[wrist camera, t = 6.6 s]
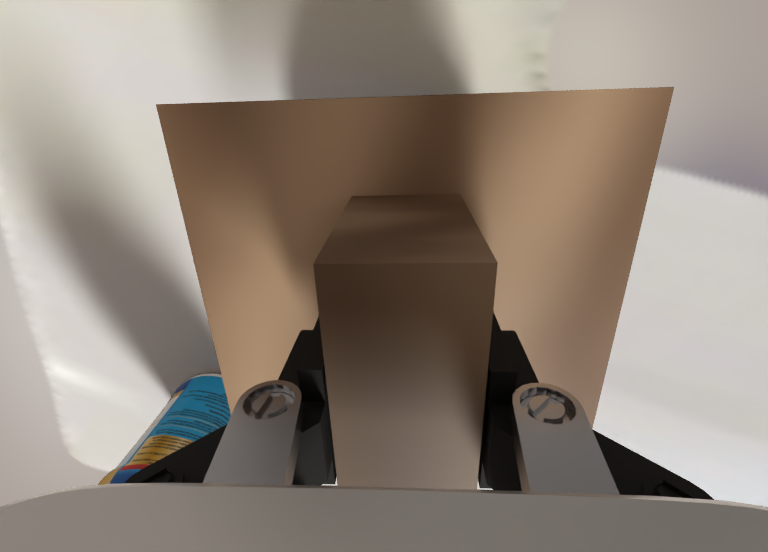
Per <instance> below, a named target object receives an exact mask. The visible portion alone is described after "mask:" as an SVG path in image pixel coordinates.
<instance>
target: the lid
mask: <svg viewBox="0 0 768 552" xmlns="http://www.w3.org/2000/svg"><path fill="white" fill-rule="evenodd" d="M673 89H674V87H660V88H629V89H602V90H570V91H541V92H511V93H482V94H452V95H423V96H393V97H364V98H334V99H305V100H275V101H246V102H216V103H187V104H157V105H156V107H157V111H158V115H159V119H160V123H161V127H162V131H163V135H164V140H165V144H166V148H167V152H168V156H169V160H170V164H171V169H172V173H173V177H174V181H175V185H176V189H177V193H178V197H179V202H180V206H181V210H182V214H183V218H184V222H185V226H186V231H187V235H188V239H189V243H190V247H191V251H192V255H193V259H194V264H195V268H196V272H197V276H198V280H199V284H200V288H201V293H202V297H203V301H204V305H205V309H206V313H207V317H208V322H209V326H210V330H211V334H212V338H213V342H214V346H215V350H216V355H217V359H218V363H219V367H220V371H221V375H222V379H223V384H224V388H225V392H226V396H227V400H228V404H229V408H230V412H231V415H232V412H233V410H234V407H235V405H236V403H237V401H238V400H239V398H240V396H241V395H242V394H243V393H245V392H246V391H247V390H248V389H250V388H251V387H253V386H255V385H257V384H260V383H263V382H266V381H272V380H278V378H279V376H280V374H281V372H282V370H283V367H284V365H285V363H286V361H287V359H288V357H289V354H290V352H291V350H292V348H293V346H294V343H295V341H296V339H297V337H298V335H299V333H300V331H301V330H313V329H314V326H315V324H316V321H317V319H318V316H319V321H320V330H321V339H322V348H323V357H324V366H325V375H326V384H327V393H328V402H329V411H330V420H331V429H332V438H333V447H334V456H335V465H336V474H337V483H338V486H362V487H400V488H436V489H471V490H477V482H478V471H479V460H480V450H481V439H482V428H483V417H484V406H485V395H486V384H487V373H488V363H489V352H490V341H491V330H492V319H493V311H494V314H495V316H496V319H497V321H498V324H499V326H500V329H501V330H513V331H515V332H516V333H517V335H518V338H519V340H520V342H521V344H522V346H523V348H524V351H525V353H526V355H527V357H528V359H529V362H530V364H531V366H532V368H533V370H534V372H535V375H536V377H537V379H538V381H539V383H545V384H551V385H554V386H557V387H560V388H562V389H564V390H566V391H567V392H569V393H571V394H572V395H573V396H574V397H575V398H576V399H578V401H579V402H580V404H581V405H582V407H583V409H584V411H585V413H586V416H587V418H588V420H589V423H590V425H591V428H592V427H593V423H594V419H595V415H596V411H597V407H598V402H599V398H600V394H601V390H602V386H603V382H604V377H605V373H606V369H607V365H608V361H609V357H610V352H611V348H612V344H613V340H614V336H615V332H616V327H617V323H618V319H619V315H620V311H621V306H622V302H623V298H624V294H625V290H626V286H627V281H628V277H629V273H630V269H631V265H632V261H633V256H634V252H635V248H636V244H637V240H638V236H639V231H640V227H641V223H642V219H643V215H644V211H645V206H646V202H647V198H648V194H649V190H650V186H651V181H652V177H653V173H654V169H655V165H656V160H657V156H658V152H659V148H660V144H661V140H662V135H663V131H664V127H665V123H666V119H667V114H668V110H669V106H670V102H671V98H672V94H673Z"/></svg>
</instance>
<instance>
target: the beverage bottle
mask: <svg viewBox="0 0 768 552" xmlns="http://www.w3.org/2000/svg"><path fill="white" fill-rule="evenodd" d="M230 417H231V412H230V408H229V404H228V400H227V396H226V392H225V388H224V384H223V379H222V375H221V374H213V373H209V374H201V375H197V376H194V377H191V378H189V379H188V380H186V381H185V382H183V383H182V384H181V385H180V386H179V387H178V389H177V390H176V391H175V392H174V394H173V395H172V397H171V399H170V400H169V402H168V403H167V405H166V406H165V407H164V409H163V410H162V411H161V413H160V414H159V415H158V416H157V418H156V419H155V420H154V421H153V423H152V424H151V425H150V426H149V428H148V429H147V430H146V431H145V433H144V434H143V435H142V436H141V438H140V439H139V440H138V441H137V443H136V444H135V445H134V446H133V448H132V449H131V450H130V451H129V453H128V454H127V455H126V456H125V458H124V459H123V460H122V461H121V463H120V464H119V465H118V466H117V467H116V469H114V470H112V471H111V472H109V473H108V474H107V475H106V476H105V477H104V478H103V479H102V480H101V481H100V483H99V484H98V485H103V484H123V483H124V482H125V481H126V480H127V479H129V478H130V477H131V476H132V475H134V474H135V473H137V472H138V471H140V470H141V469H143V468H145V467H147V466H149V465H150V464H152V463H154V462H156V461H158V460H160V459H162V458H164V457H166V456H168V455H169V454H171V453H173V452H175V451H177V450H179V449H181V448H183V447H185V446H187V445H188V444H190V443H192V442H194V441H196V440H198V439H200V438H202V437H204V436H205V435H207V434H209V433H211V432H213V431H215V430H217V429H219V428H221V427H223V426H224V425H226V424H228V422H229V419H230Z"/></svg>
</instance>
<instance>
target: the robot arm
mask: <svg viewBox="0 0 768 552" xmlns="http://www.w3.org/2000/svg"><path fill="white" fill-rule="evenodd" d="M336 476H337V474H336V465H335V456H334V447H333V438H332V429H331V420H330V411H329V402H328V393H327V384H326V375H325V366H324V357H323V348H322V339H321V330H320V321H319V316H318V319H317V321H316V324H315V326H314V329H313V330H301V331H300V333H299V335H298V337H297V339H296V341H295V343H294V346H293V348H292V350H291V352H290V354H289V357H288V359H287V361H286V363H285V365H284V367H283V370H282V372H281V374H280V376H279V378H278V380H272V381H266V382H263V383H260V384H257V385H255V386H253V387H251V388H250V389H248V390H247V391H246V392H245V393H243V394H242V395H241V396H240V398H239V400H238V401H237V403H236V405H235V407H234V410H233V412H232V415H231V417H230V419H229V422H228V424H226V425H224V426H223V427H221V428H219V429H217V430H215V431H213V432H211V433H209V434H207V435H205V436H204V437H202V438H200V439H198V440H196V441H194V442H192V443H190V444H188V445H187V446H185V447H183V448H181V449H179V450H177V451H175V452H173V453H171V454H169V455H168V456H166V457H164V458H162V459H160V460H158V461H156V462H154V463H152V464H150V465H149V466H147V467H145V468H143V469H141V470H140V471H138V472H137V473H135V474H134V475H132V476H131V477H130V478H129V479H127V480H126V481H125V482H124V483H123V484H103V485H92V486H82V487H75V488H70V489H64V490H59V491H54V492H48V493H44V494H41V495H37V496H34V497H31V498H27V499H23V500H20V501H16V502H13V503H10V504H7V505H5V506H2V507H0V552H768V507H764V506H758V505H751V504H744V503H736V502H729V501H721V500H714V499H713V498H712V497H710V496H709V495H708V494H707V493H706V492H705V491H704V490H702V489H700V488H699V487H697V486H696V485H694V484H693V483H691V482H689V481H687V480H686V479H684V478H682V477H680V476H678V475H676V474H674V473H673V472H671V471H669V470H667V469H665V468H663V467H661V466H659V465H658V464H656V463H654V462H652V461H650V460H648V459H646V458H645V457H643V456H641V455H639V454H637V453H635V452H633V451H631V450H630V449H628V448H626V447H624V446H622V445H620V444H618V443H617V442H615V441H613V440H611V439H609V438H607V437H605V436H604V435H602V434H600V433H598V432H596V431H594V430H592V428H591V425H590V423H589V420H588V418H587V416H586V413H585V411H584V409H583V407H582V405H581V404H580V402H579V401H578V399H576V398H575V397H574V396H573V395H572V394H571V393H569V392H567V391H566V390H564V389H562V388H560V387H557V386H554V385H551V384H545V383H539V381H538V379H537V377H536V375H535V372H534V370H533V368H532V366H531V364H530V362H529V359H528V357H527V355H526V353H525V351H524V348H523V346H522V344H521V342H520V340H519V338H518V335H517V333H516V332H515V331H513V330H501V329H500V326H499V324H498V321H497V319H496V316H495V314H494V311H493V319H492V330H491V341H490V352H489V363H488V373H487V384H486V395H485V406H484V417H483V428H482V439H481V450H480V460H479V471H478V481H479V486H480V488H492V489H493V490H471V489H436V488H400V487H362V486H321V485H322V484H335V481H336Z"/></svg>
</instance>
